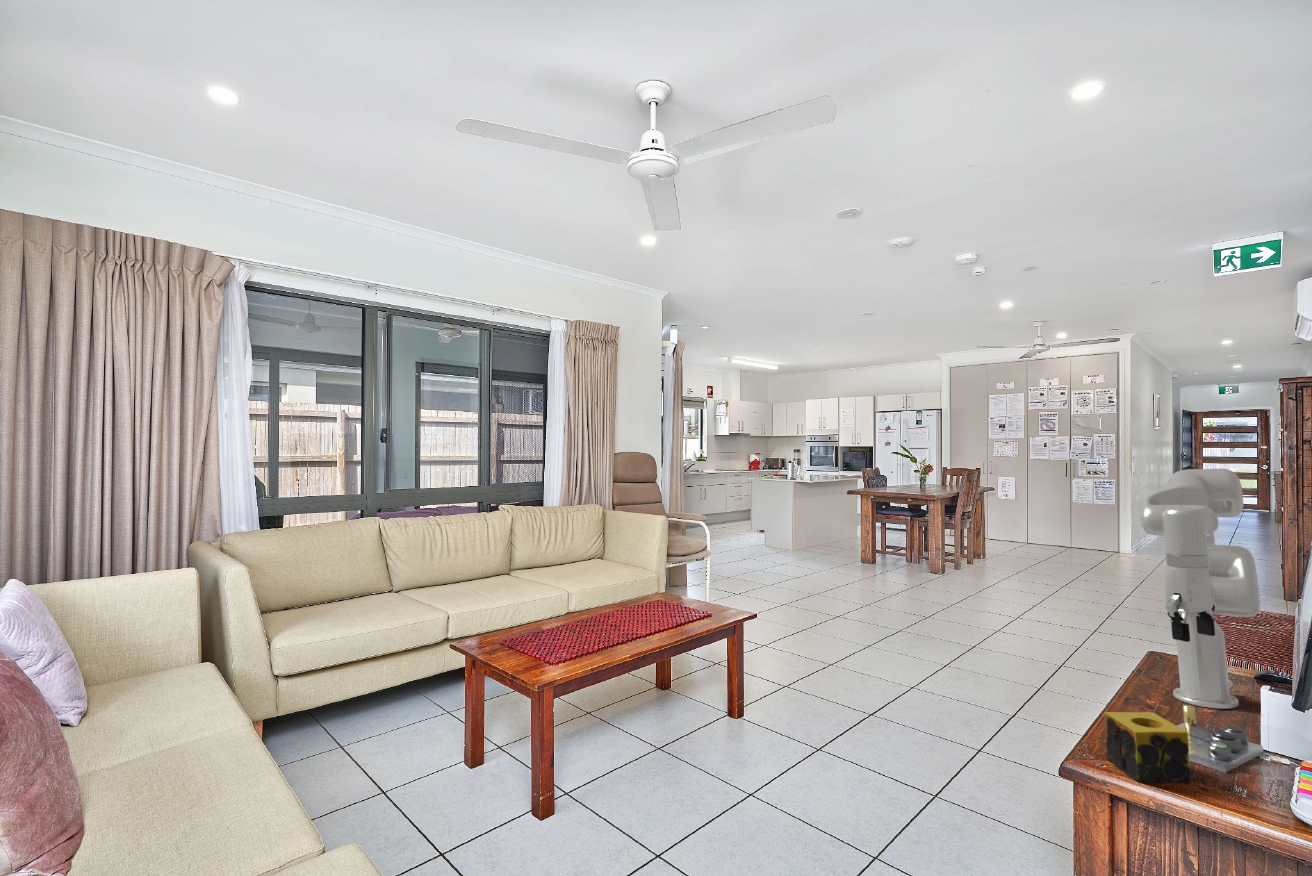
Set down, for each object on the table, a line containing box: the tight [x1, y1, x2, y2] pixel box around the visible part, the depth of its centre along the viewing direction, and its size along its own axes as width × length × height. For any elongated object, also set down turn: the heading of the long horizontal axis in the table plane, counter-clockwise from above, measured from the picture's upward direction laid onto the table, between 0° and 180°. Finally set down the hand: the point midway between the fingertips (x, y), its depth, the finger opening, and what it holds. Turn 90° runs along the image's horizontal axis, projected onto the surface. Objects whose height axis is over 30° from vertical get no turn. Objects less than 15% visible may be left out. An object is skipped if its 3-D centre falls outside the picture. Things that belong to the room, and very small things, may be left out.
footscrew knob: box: [1182, 704, 1241, 752], centre depth 135 cm, size 10×5×6 cm, turn 11°
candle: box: [1103, 711, 1192, 784], centre depth 127 cm, size 10×10×10 cm
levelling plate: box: [1176, 722, 1264, 774], centre depth 135 cm, size 16×14×4 cm
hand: (1194, 637), depth 143 cm, fingers open, 9 cm apart
